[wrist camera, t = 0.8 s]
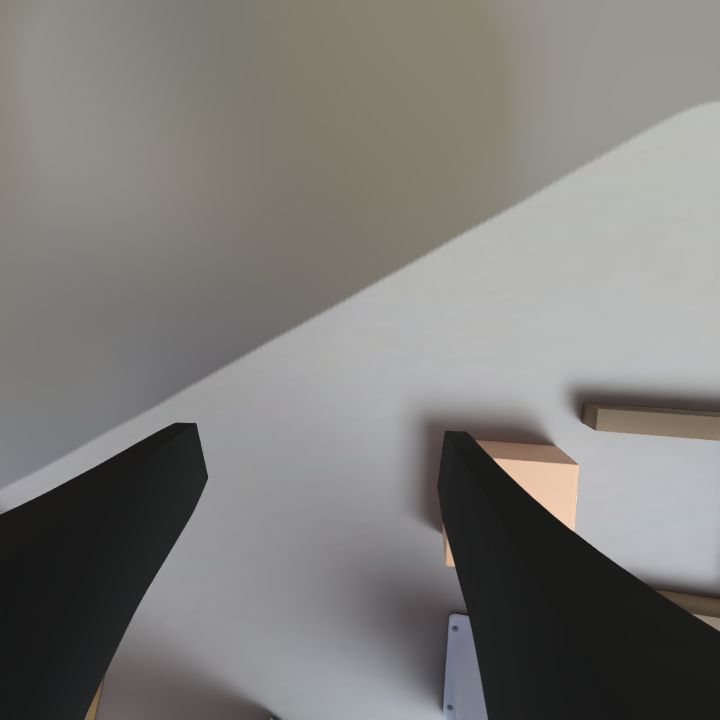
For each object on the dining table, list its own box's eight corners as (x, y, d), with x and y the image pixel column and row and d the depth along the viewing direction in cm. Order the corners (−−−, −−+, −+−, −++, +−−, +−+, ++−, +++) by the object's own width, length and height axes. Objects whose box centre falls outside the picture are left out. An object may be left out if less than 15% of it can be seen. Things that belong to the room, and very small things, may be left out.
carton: (547, 544, 26) (570, 582, 22) (442, 532, 28) (446, 565, 24) (554, 444, 25) (579, 465, 22) (446, 437, 27) (450, 454, 23)
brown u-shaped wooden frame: (757, 624, 24) (787, 651, 22) (564, 594, 26) (576, 615, 24) (789, 416, 22) (825, 424, 20) (583, 402, 25) (598, 408, 23)
